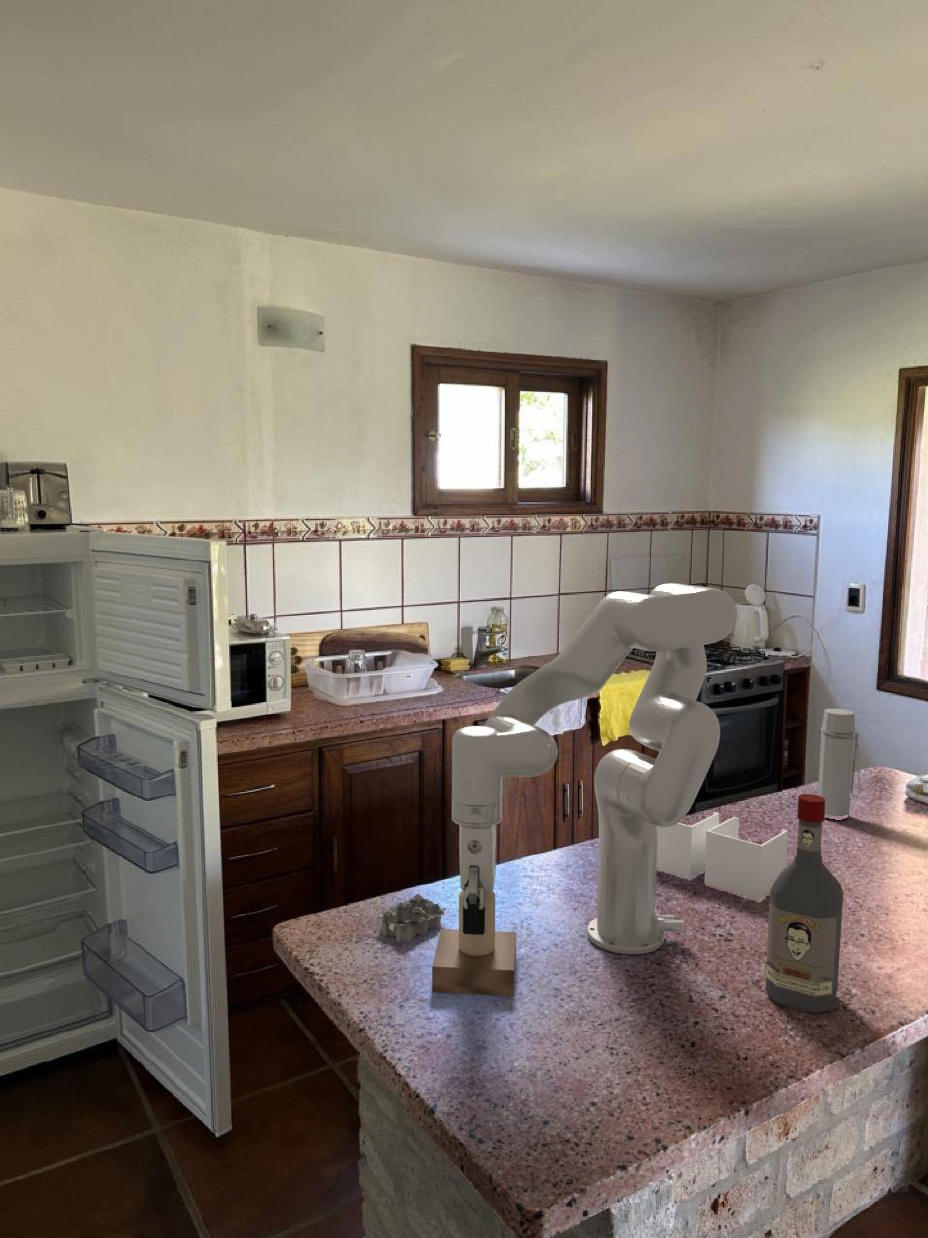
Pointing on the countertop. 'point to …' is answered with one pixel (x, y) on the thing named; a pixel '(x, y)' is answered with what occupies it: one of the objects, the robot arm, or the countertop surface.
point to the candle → (485, 942)
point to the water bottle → (837, 761)
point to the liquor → (805, 921)
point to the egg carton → (403, 912)
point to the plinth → (474, 966)
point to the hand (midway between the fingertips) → (476, 918)
